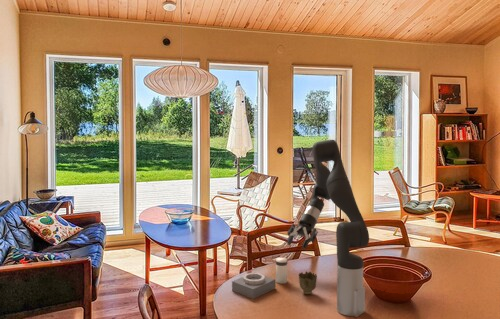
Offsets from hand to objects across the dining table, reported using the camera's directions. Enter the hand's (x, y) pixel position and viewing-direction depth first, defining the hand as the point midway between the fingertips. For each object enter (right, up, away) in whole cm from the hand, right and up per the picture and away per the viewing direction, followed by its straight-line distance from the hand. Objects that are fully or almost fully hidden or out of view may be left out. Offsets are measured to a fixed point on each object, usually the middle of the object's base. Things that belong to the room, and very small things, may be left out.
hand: (295, 245), depth 175 cm
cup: (+2, -15, -20) cm, 25 cm away
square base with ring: (-20, -15, -16) cm, 29 cm away
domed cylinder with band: (-7, -14, -7) cm, 17 cm away
